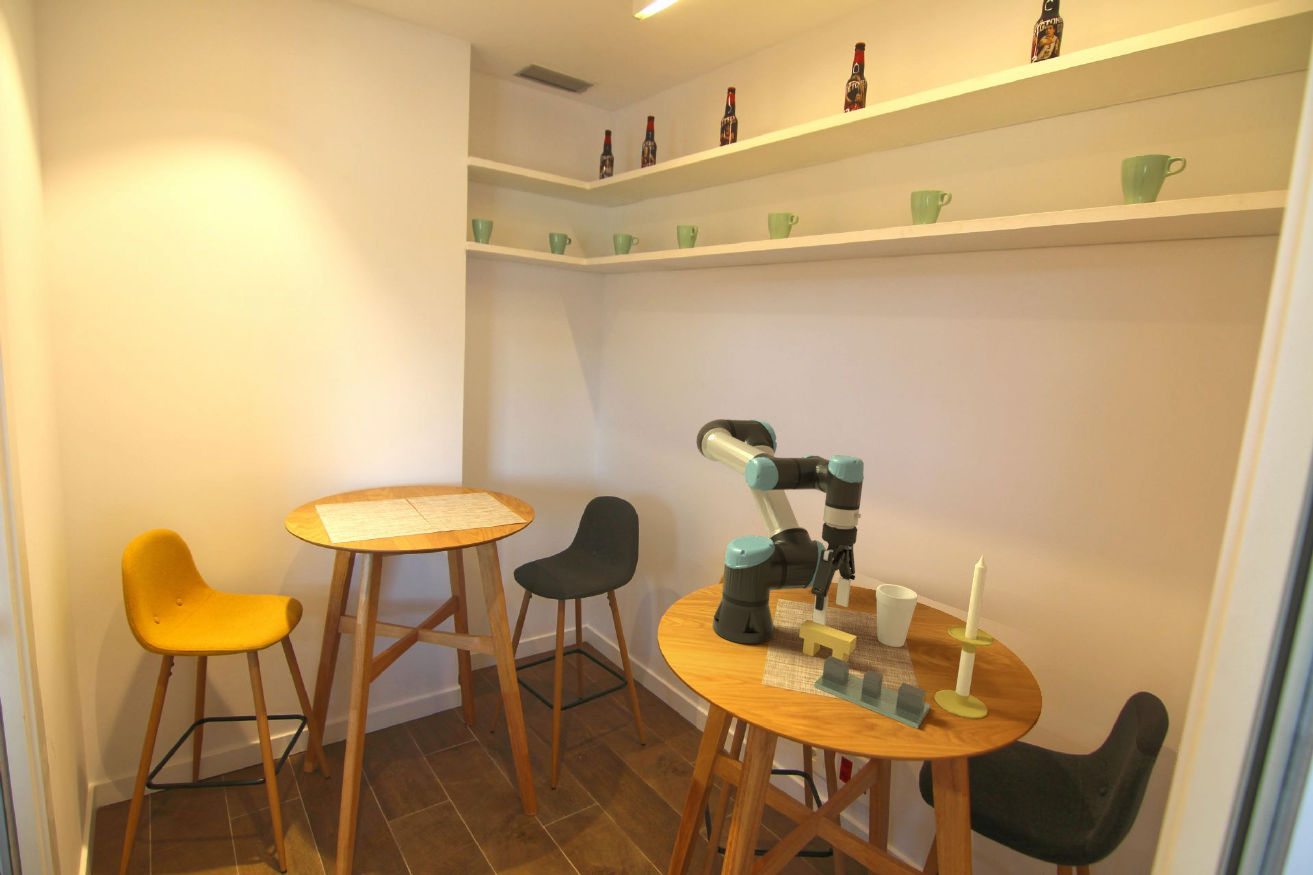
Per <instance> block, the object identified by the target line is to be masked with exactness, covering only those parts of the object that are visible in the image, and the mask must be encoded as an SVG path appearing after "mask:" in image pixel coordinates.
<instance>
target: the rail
mask: <svg viewBox="0 0 1313 875" xmlns="http://www.w3.org/2000/svg"><path fill="white" fill-rule="evenodd" d="M850 666H851V663H850V662H849V661H848V662H846V661H843V660H840V659H838V658H835V657H832V655H829V656H828V657H827V658H826V659H824V662H823V668H822V670H823V671H822V675H821V676H820V677H819V678H818V679H817V680H815V682H814V684H813V686H814V688H815V689H818V690H820V691H824V692H826V693H828V694H830V695H833V696H835V697H838V698H840V699H842V700H845V701H848V702H850V703H853V704H855V705H857V706H860V707H862V708H865V709H868V710H870V711H873V712H875V713H878V714H880V715H882V716H885V717H887V718H889V719H892V720H894V721H897V722H900V723H902V724H904V725H907V726H909V727H912V728H915V729H919V727H920V725H921V724H922V722H923V721H924V719H925V717H926V716H927V714H928V713H929V710H930V709H931V703H928V702H926V696H927V690H924V689H922V688H919V687H917V686H914V685H911V684H908V683H905V682H902V683H901V684H900V686H899V687H898V689H897V690H898V691H897V690H893V689H891V688H889V687H885V686H884V685H883V679H884V675H883V674H882V673H879V672H875V671H873V670H870V669H868V670H867V671H866V672H865V673H864V675H863V678H861V677H859V676H856V675H854V674H851V673H850Z"/></svg>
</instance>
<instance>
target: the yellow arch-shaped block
mask: <svg viewBox="0 0 1313 875" xmlns="http://www.w3.org/2000/svg"><path fill="white" fill-rule="evenodd" d="M799 638H801V639H803V647H802V653H803V654H804V655H808V656H811V657H815V655H816V654H818V653H819V652H820V650H821V646H823V647H825V648H829V649H831V650H832V653H831V656H832V657H835V658H838V659H840V660H843V661H846V662H847V661H848V662H849V656H850V654H851V653H852V652H853V651H854V650H856V644H857V635H854V634H851V633H848V632H845V631H842V630H839V629H836V628H833V627H830V626H828V625H826V624H825V625H822V624H819V623H816V622H813V620H809V619H807V620H806V621H804V622H802V624H800V629H799Z"/></svg>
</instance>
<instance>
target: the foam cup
mask: <svg viewBox="0 0 1313 875" xmlns="http://www.w3.org/2000/svg"><path fill="white" fill-rule="evenodd" d="M875 598H876V635H877V636H876V638H877V640H878V641H879V642H880V643H881V644H883V645H885V646H888V647H893V648H894V647H895V648H899V647H903V646H904V645H905V642H906V639H907V636H908V633H909V629H910V626H911V622H912V618H913V616H914V613H915V609H916V606H917V603H918V594H917V592H916V591H914V590H913V589H911V588H909V587H905V586H902V585H897V584H891V583H890V584H889V583H888V584H887V583H885V584H879V585H878V586H877V587H876V592H875Z"/></svg>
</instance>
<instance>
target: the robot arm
mask: <svg viewBox="0 0 1313 875" xmlns="http://www.w3.org/2000/svg"><path fill="white" fill-rule="evenodd" d="M695 442H696V446H697V447H696V448H697V450H698V451H699V453H700V454H701V455H702V456H703V457H704V458H707V459H708V461H709V460H710V461H712V462H720V463H722V464H724V465H725V466H727V467H729V468H731V469H732V470H734V471H736V472H738V473H739V474H740V475H742V476H744V478H745V479H744V480H745V482H746V483H747V485H748V487H749V489H750V492H751V495H752V497H753V499H754V503H755V505H756V508H757V510H758V513H759V516H760V518H761V521H762V523H763V526H764V529H765V532H766V535H767V537H766V536H761V535H759V536H758V535H757V536H756V535H744V536H739V537H736V538H734V539H732V540H731V541H729V543H728V544H727V546H726V549H725V550H726V552H725V554H724V555H725V556H724V571H723V584H722V596H721V599H720V602H719V604H718V606H717V609H716V611H715V613H714V615H713V619H712V630H713V631H714V632H715V634H717V635H718V636H720V637H721V638H723V639H725V640H728V641H730V642H735V643H739V644H746V645H753V644H754V645H755V644H763V643H765V642H768V641H770V640H771V639H772V637H773V636H774V628H775V626H774V621H773V617H772V612H771V608H770V593H771V591H780V590H795V589H809V588H811V591H810V593H811V595H815V597H814V603H813V605H814V606H813V615H812V621H813V622H816V623H819V624H822V625H825V626H826V624H827V613H828V603H829V595H828V593H829V591H830V590H829V589H830V587H831V584H832V581H833V578H834V576H835V574H836V571H838V572H839V575H840V577H838V579H837V580H838V581H837V590H836V598H835V599H836V600H835V604H836V605H839V606H841V607H845V608H848V606H849V599H850V591H851V581H854V580H855V579H856V575H855V573H856V565H855V557H854V556H855V554H854V545H855V544H856V543H857V537H858V528H857V526H858V524H859V519H861V517H862V515H861V513H860V506H861V498H862V491H863V482H864V479H865V476H864V472H865V470H864V461H863V460H862V459H861V458H859V457H857V456H850V455H833V456H831V457H830V458H829V459H826V458H824V457H822V456H820V455H819V456H818V455H813V454H807V455H804V456H802V457H776V456H775V453H776V451H777V444H778V443H777V436H776V432H775V430H774V428H773V426H772V425H770V424H769V422H766V421H764V420H759V419H749V420H747V419H745V420H744V419H724V418H723V419H721V418H720V419H714V420H710V421H708V422H707V423H705V424H704V425H703V426H702V427H700V429H699V431H698V433H697V436H696V441H695ZM786 490H787V491H789V490H793V491H796V490H802V491H803V490H817V491H819V492H822V493H825V500H824V501H825V502H824V503H825V504H824V508H823V517H822V518H823V519H822V520H823V522H824V523H823V524H822V532H821V538H822V540H823V541H824V542H826V543H827V545H828V546H827V548H826V546H825V545H824V544H823V543H822V542H820V541H818V540H816V539H814V540H812V539H811V536H810V534H809V531H808V530H807V529H806V528H804V527H803V526H802V527H801V526H800V525H799V523H798V521H797V518H796V515H795V513H794V511H793V509H792V506H791V503H790V500H789V499H788V496H787V494H786V492H785V491H786Z"/></svg>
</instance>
